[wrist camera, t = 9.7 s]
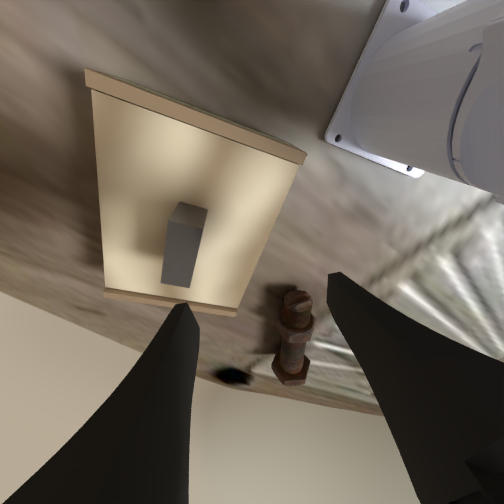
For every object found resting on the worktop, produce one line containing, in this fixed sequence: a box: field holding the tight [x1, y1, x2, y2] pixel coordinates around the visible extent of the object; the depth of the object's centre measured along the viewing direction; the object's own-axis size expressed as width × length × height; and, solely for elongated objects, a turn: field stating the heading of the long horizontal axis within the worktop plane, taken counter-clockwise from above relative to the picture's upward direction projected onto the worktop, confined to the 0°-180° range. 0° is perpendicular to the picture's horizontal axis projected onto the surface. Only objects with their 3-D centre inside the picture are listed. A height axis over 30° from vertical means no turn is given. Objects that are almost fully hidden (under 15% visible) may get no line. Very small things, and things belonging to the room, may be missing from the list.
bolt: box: [272, 290, 316, 386], centre depth 27 cm, size 6×5×15 cm
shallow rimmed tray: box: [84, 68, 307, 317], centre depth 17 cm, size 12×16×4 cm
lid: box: [91, 89, 300, 308], centre depth 15 cm, size 12×14×4 cm
